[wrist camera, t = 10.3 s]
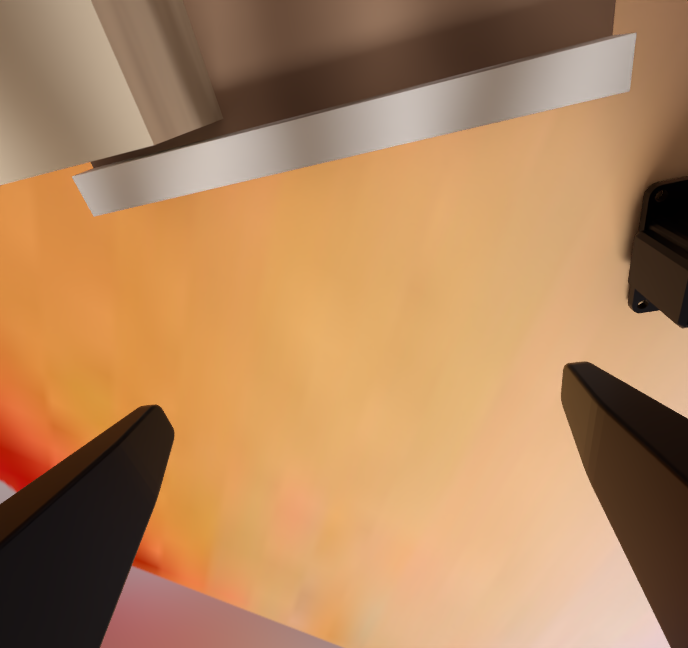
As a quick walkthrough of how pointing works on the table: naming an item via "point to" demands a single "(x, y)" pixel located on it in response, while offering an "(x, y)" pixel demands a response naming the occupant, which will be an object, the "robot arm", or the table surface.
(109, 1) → the ball-top joystick
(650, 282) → the robot arm
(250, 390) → the table surface
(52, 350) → the table surface
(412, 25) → the board
